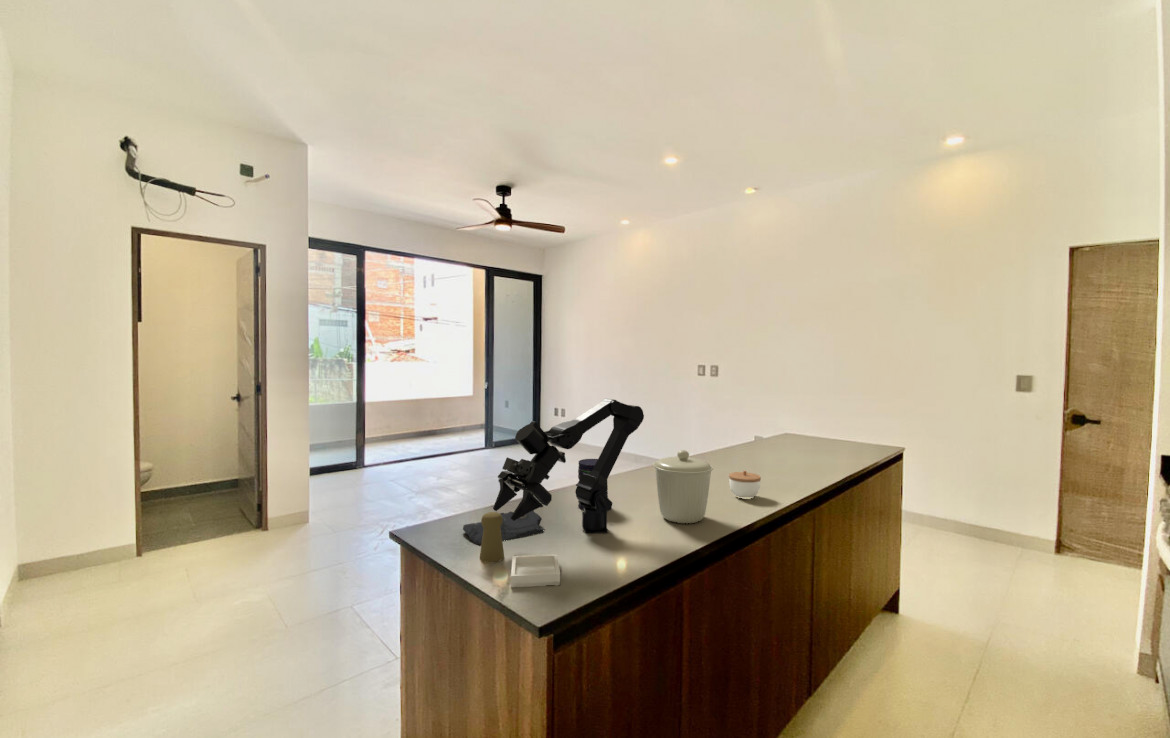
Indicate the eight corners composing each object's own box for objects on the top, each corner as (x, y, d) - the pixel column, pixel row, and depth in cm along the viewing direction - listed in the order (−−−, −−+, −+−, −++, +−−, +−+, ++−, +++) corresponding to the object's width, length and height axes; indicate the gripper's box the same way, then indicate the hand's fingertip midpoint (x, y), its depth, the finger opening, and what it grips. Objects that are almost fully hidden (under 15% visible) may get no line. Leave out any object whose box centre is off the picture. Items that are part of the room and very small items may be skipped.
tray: (557, 564, 118) (557, 554, 118) (560, 585, 108) (560, 573, 108) (512, 566, 117) (512, 556, 117) (510, 587, 106) (510, 576, 106)
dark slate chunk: (456, 531, 141) (456, 515, 141) (525, 517, 153) (526, 502, 153) (477, 549, 128) (477, 531, 128) (550, 532, 141) (550, 516, 140)
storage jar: (572, 508, 162) (572, 462, 161) (587, 500, 170) (588, 457, 170) (598, 513, 156) (598, 466, 156) (613, 505, 165) (613, 460, 164)
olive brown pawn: (481, 552, 125) (481, 509, 124) (505, 552, 125) (505, 509, 125) (478, 563, 119) (478, 517, 118) (503, 562, 119) (503, 517, 119)
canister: (643, 512, 158) (643, 446, 157) (693, 507, 164) (693, 443, 163) (669, 531, 141) (670, 458, 140) (724, 525, 146) (725, 454, 146)
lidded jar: (739, 491, 183) (740, 466, 183) (766, 497, 175) (766, 471, 174) (722, 496, 176) (722, 470, 176) (749, 503, 168) (749, 476, 167)
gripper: (504, 440, 134) (465, 487, 127) (541, 451, 119) (500, 505, 113) (529, 466, 139) (493, 512, 132) (568, 479, 124) (529, 532, 118)
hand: (502, 514), depth 124 cm, fingers open, 9 cm apart
